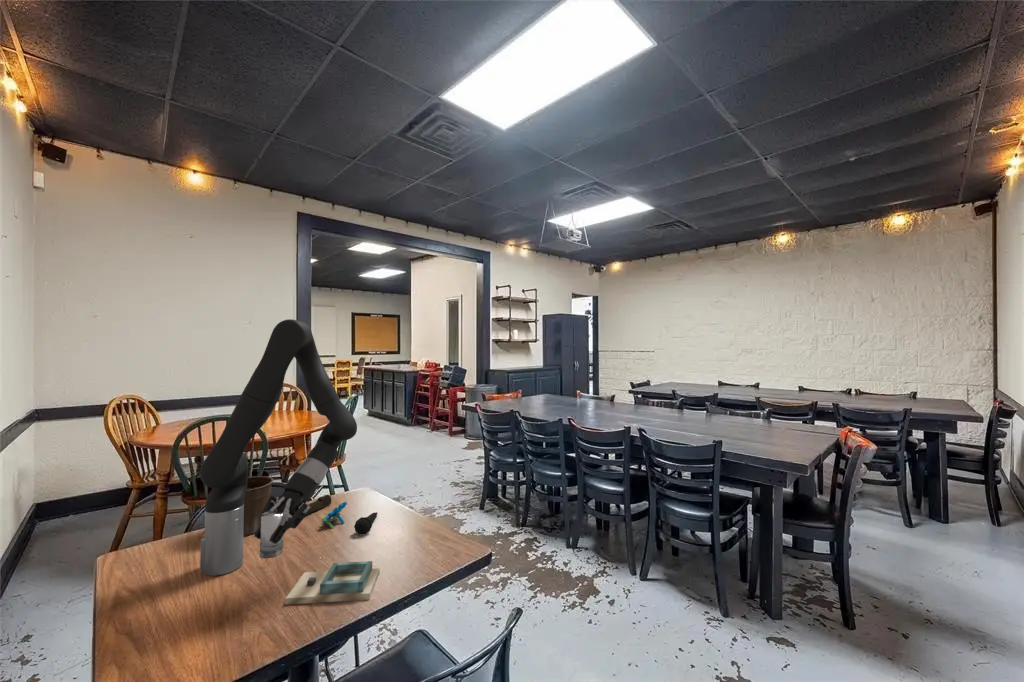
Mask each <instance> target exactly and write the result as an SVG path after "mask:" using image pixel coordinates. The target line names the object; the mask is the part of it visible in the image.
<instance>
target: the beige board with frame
mask: <svg viewBox="0 0 1024 682" xmlns="http://www.w3.org/2000/svg"><path fill="white" fill-rule="evenodd" d="M380 572H381V570H380V568H373V560H370V561H369V560H368V561H349V562H333V563H332V564H331V566H330V568H329V569H328V570H325V571H308V572H305V571H304V572H303V574H302V575H301V577H300V578H299V579H298V580H297V582H296V584H295V585H294V586H293V587H292V589H291V590H290V591H289V593H288V595H287V596H285V602H284V603H285V606H286V605H299V604H300V605H302V604H316V603H318V604H319V603H333V602H349V601H350V602H351V601H366V600H368V601H369V600H370V599H371V597H372V594H373V592H374V590H375V586H376V583H377V581H378V579H379V577H378V576H380Z"/></svg>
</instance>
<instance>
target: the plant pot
mask: <svg viewBox="0 0 1024 682" xmlns="http://www.w3.org/2000/svg"><path fill="white" fill-rule="evenodd" d="M273 482H274V478H272V477H270V476H266V475H265V476H262V475H260V476H259V475H258V476H255V475H253V476H248V481H247V491H246V494H245V497H244V528H243V537H246V536H251V535H255V533H256V531H257V530H258V528H259V527H260V525H261V517H260V515H261V513H262V511H263V509H264V507H265V505H266V504H267V502H268V500H269V498H270V495H271V493H272V492H271V490H272V485H273ZM267 512H268V511H267Z"/></svg>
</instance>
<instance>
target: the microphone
mask: <svg viewBox="0 0 1024 682" xmlns="http://www.w3.org/2000/svg"><path fill="white" fill-rule="evenodd" d="M377 516H378V512H377V511H376V512H372V513H371V514H369V515H368V516H366V517H365V516H364V517H360V518H359V519H357V520H356V521H355V523H354V526H353V528H354V532H355V533H357V534H358V535H359V534H365V535H367V534H369V533H370V532H371V529H372V527H373V523H374V522H375V520H376V519H377Z"/></svg>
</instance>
